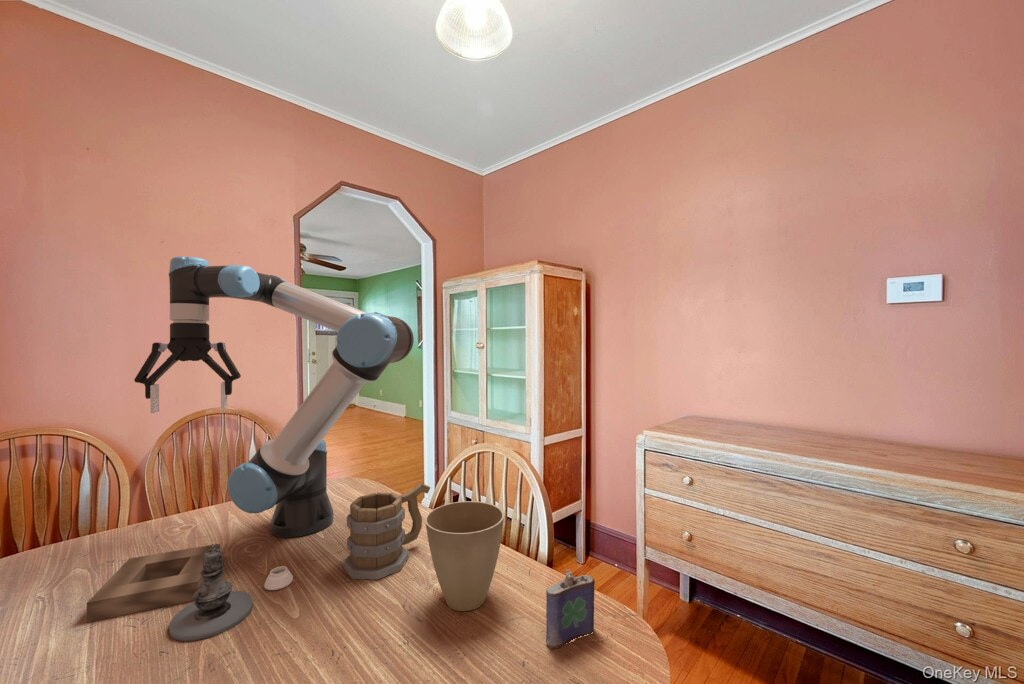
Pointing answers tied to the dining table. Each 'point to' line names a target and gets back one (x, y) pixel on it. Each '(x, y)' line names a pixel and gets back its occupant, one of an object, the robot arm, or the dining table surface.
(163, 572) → the pocket holder
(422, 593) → the dining table surface
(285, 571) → the white tapered ring
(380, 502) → the tankard
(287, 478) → the robot arm
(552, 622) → the flask
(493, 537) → the plant pot
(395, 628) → the dining table surface
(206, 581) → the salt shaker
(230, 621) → the slate mat
